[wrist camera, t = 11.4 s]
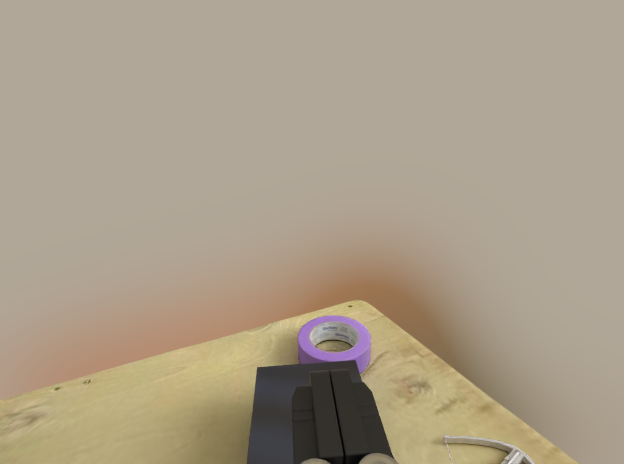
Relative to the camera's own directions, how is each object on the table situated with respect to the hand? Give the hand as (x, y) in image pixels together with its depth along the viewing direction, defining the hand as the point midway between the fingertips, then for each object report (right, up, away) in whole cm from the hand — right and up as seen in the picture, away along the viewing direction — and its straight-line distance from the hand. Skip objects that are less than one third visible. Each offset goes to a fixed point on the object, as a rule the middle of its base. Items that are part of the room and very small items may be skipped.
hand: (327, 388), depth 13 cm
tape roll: (+3, -14, +43) cm, 46 cm away
